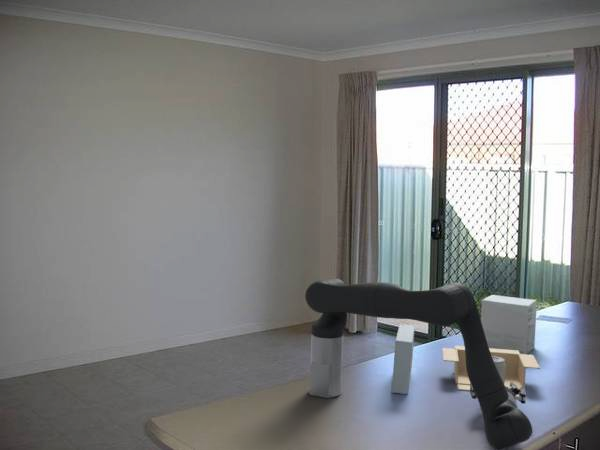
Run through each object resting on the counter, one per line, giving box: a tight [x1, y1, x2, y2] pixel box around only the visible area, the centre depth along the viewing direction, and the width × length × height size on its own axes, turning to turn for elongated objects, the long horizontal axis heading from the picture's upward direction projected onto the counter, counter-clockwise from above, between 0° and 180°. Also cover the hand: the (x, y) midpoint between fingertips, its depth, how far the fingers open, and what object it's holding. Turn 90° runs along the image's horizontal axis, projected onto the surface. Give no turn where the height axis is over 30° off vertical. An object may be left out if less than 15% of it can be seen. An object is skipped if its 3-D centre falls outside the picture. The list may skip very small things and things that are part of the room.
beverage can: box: [492, 356, 506, 383], centre depth 195 cm, size 6×6×12 cm
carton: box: [442, 345, 541, 392], centre depth 211 cm, size 22×28×8 cm
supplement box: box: [480, 294, 538, 355], centre depth 249 cm, size 17×13×18 cm
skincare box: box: [390, 323, 415, 395], centre depth 207 cm, size 21×5×16 cm, turn 168°
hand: (495, 383), depth 188 cm, fingers open, 8 cm apart
